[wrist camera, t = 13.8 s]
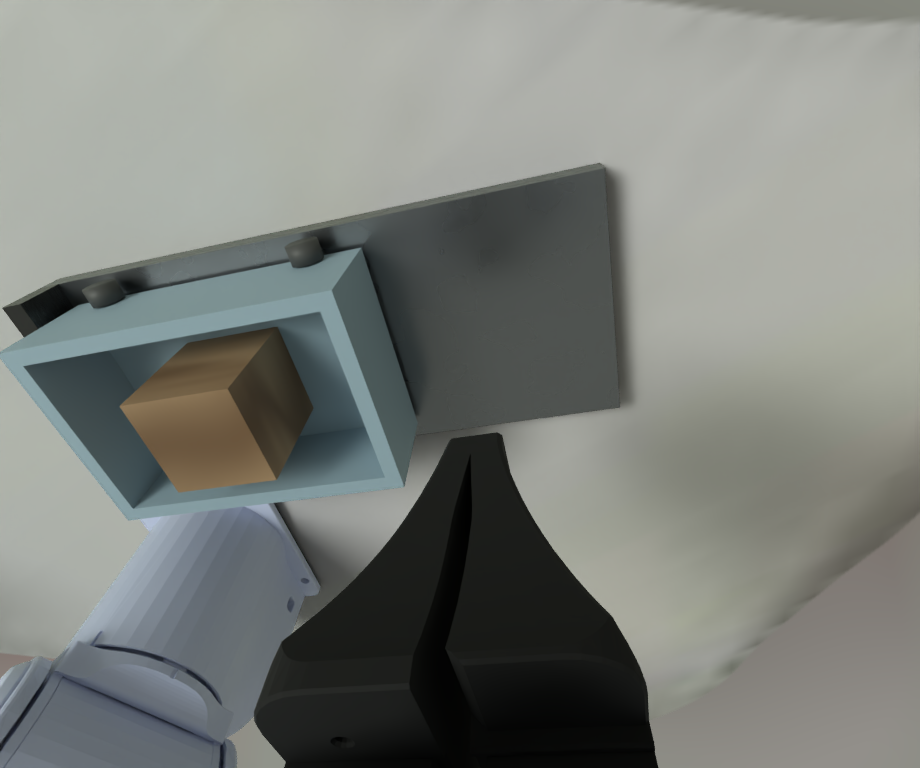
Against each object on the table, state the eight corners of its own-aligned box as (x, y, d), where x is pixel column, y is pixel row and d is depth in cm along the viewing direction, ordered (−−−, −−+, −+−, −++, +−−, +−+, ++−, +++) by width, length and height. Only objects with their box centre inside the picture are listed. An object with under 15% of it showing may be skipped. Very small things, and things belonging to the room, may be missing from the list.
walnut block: (313, 408, 22) (276, 480, 19) (230, 420, 23) (178, 492, 19) (277, 326, 20) (227, 388, 16) (187, 342, 21) (119, 406, 17)
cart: (421, 435, 24) (409, 500, 20) (186, 468, 26) (137, 532, 22) (354, 227, 19) (322, 266, 15) (67, 287, 21) (-19, 334, 17)
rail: (615, 394, 23) (629, 435, 21) (176, 456, 27) (143, 498, 24) (599, 163, 18) (616, 180, 16) (59, 278, 22) (2, 308, 19)
